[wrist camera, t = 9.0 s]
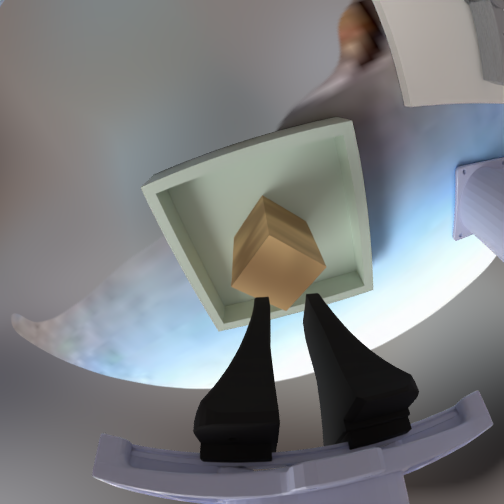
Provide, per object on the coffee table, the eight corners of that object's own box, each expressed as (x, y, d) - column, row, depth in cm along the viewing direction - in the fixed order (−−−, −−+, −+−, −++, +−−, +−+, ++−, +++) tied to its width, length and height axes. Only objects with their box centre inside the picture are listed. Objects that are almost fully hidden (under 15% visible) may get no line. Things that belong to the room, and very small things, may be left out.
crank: (446, -35, 6) (479, -45, 2) (477, -18, 6) (509, -23, 2) (473, 81, 13) (515, 88, 8) (499, 91, 13) (537, 101, 8)
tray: (336, 116, 17) (352, 120, 14) (361, 269, 24) (373, 289, 21) (154, 174, 19) (140, 187, 16) (220, 308, 26) (218, 331, 23)
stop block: (262, 195, 19) (269, 234, 14) (306, 221, 20) (326, 266, 15) (233, 237, 21) (231, 286, 16) (276, 259, 22) (286, 311, 17)
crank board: (469, -29, 6) (476, -31, 5) (510, 102, 14) (517, 104, 13) (340, -60, 8) (344, -65, 7) (404, 106, 16) (412, 107, 15)
